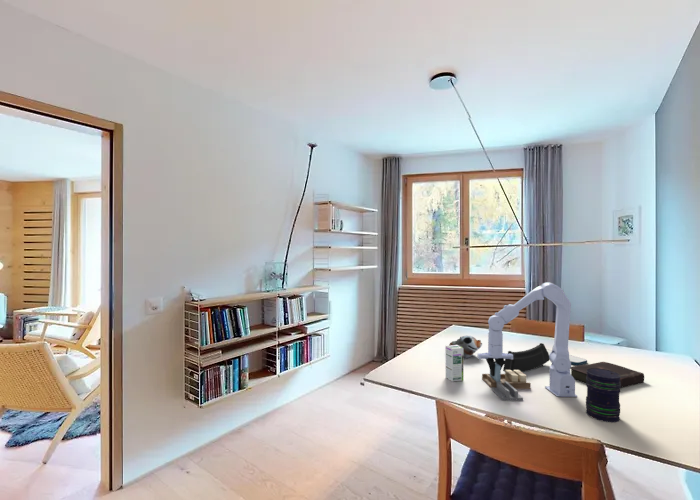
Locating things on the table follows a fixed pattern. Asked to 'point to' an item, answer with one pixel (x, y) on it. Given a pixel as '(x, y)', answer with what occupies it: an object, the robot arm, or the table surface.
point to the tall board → (497, 373)
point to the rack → (493, 383)
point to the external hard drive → (573, 359)
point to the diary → (626, 375)
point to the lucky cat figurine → (468, 345)
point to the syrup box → (454, 362)
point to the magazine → (527, 359)
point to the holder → (506, 392)
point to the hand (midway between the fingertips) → (495, 375)
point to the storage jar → (603, 395)
